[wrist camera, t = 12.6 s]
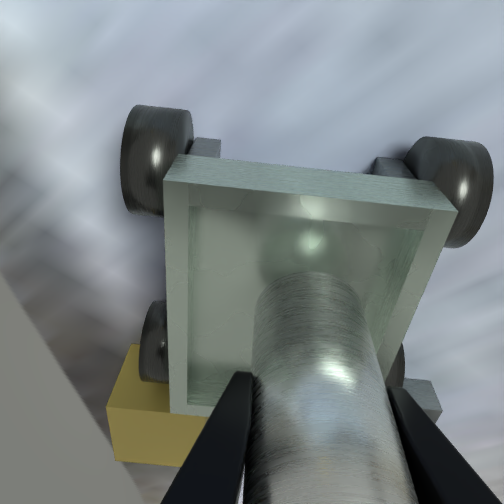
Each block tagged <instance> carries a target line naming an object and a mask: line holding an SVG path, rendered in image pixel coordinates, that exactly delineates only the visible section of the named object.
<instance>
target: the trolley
mask: <svg viewBox="0 0 504 504" xmlns="http://www.w3.org/2000/svg"><path fill="white" fill-rule="evenodd" d="M220 150H221V140H217V139H207V138H198V137H197V138H196V140H195V142H194V136H193V124H192V118H191V114H190V112H189V111H188V110H182V109H173V108H164V107H155V106H146V105H136V106H134V107H133V108H132V110H131V111H130V113H129V115H128V118H127V121H126V124H125V128H124V133H123V138H122V145H121V157H120V176H121V187H122V193H123V198H124V202H125V205H126V207H127V209H128V211H129V212H130V213H131V214H134V215H144V216H153V217H163V218H164V231H165V263H166V295H167V302H162V301H154V302H153V303H152V304H151V306H150V308H149V310H148V312H147V315H146V318H145V322H144V326H143V330H142V335H141V341H140V349H139V376H140V379H141V381H143V382H153V383H163V384H169V391H170V413H174V414H184V415H194V416H204V417H209V416H210V415H211V413H212V411H213V409H214V408H215V406H216V404H217V402H218V400H219V399H220V397H221V395H222V393H223V392H224V390H225V388H226V386H227V384H228V383H229V381H230V379H231V377H232V376H233V374H234V372H236V371H247V372H251V358H252V342H253V325H254V309H255V305H256V302H257V299H258V297H259V296H260V294H261V293H262V292H263V290H264V289H265V288H266V287H267V286H269V285H270V284H271V283H273V282H274V281H276V280H277V279H279V278H281V277H284V276H286V275H289V274H293V273H298V272H306V271H314V272H323V273H327V274H331V275H334V276H336V277H339V278H340V279H342V280H344V281H346V282H347V283H348V284H350V285H351V286H352V287H353V288H354V290H355V291H356V292H357V294H358V296H359V298H360V300H361V303H362V307H363V310H364V314H365V317H366V321H367V324H368V328H369V331H370V335H371V338H372V342H373V345H374V349H375V352H376V356H377V359H378V363H379V366H380V370H381V373H382V377H383V380H384V384H385V387H386V386H394V387H403V382H404V374H405V357H404V349H403V344H402V341H403V339H404V336H405V334H406V332H407V329H408V327H409V325H410V322H411V320H412V318H413V316H414V313H415V311H416V309H417V306H418V304H419V302H420V299H421V297H422V295H423V292H424V290H425V288H426V285H427V283H428V281H429V278H430V276H431V274H432V272H433V269H434V267H435V265H436V262H437V260H438V258H439V255H440V253H441V251H442V248H443V247H446V248H459V247H462V246H464V245H465V244H467V243H468V242H469V241H470V240H471V239H472V238H473V237H474V236H475V235H476V233H477V232H478V230H479V229H480V227H481V225H482V223H483V221H484V219H485V217H486V215H487V212H488V209H489V206H490V202H491V197H492V192H493V179H494V175H493V165H492V161H491V157H490V155H489V153H488V151H487V149H486V148H485V147H484V146H483V145H482V144H480V143H478V142H473V141H464V140H455V139H446V138H437V137H428V136H427V137H422V138H420V139H419V140H418V141H417V142H416V143H415V144H414V145H413V146H412V148H411V149H410V151H409V152H408V154H407V156H406V158H405V160H404V163H403V162H402V160H400V159H391V158H382V157H377V159H376V163H375V166H374V170H373V173H372V175H369V174H360V173H350V172H341V171H332V170H323V169H313V168H304V167H295V166H286V165H276V164H267V163H258V162H249V161H240V160H230V159H221V158H220Z"/></svg>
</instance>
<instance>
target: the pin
mask: <svg viewBox="0 0 504 504" xmlns="http://www.w3.org/2000/svg"><path fill="white" fill-rule="evenodd" d="M251 373H253V398H252V420H251V429H250V435H249V441H248V447H247V453H246V459H245V473H244V489H243V504H419V503H418V499H417V496H416V492H415V489H414V485H413V482H412V478H411V475H410V471H409V468H408V464H407V461H406V457H405V454H404V450H403V447H402V443H401V440H400V436H399V433H398V429H397V426H396V422H395V419H394V415H393V412H392V408H391V405H390V401H389V398H388V394H387V391H386V387H385V384H384V380H383V377H382V373H381V370H380V366H379V363H378V359H377V356H376V352H375V349H374V345H373V342H372V338H371V335H370V331H369V328H368V324H367V321H366V317H365V314H364V310H363V307H362V303H361V300H360V298H359V296H358V294H357V292H356V291H355V290H354V288H353V287H352V286H351V285H350V284H348V283H347V282H346V281H344V280H342V279H340V278H339V277H336V276H334V275H331V274H327V273H323V272H314V271H306V272H298V273H293V274H289V275H286V276H284V277H281V278H279V279H277V280H276V281H274V282H273V283H271V284H270V285H269V286H267V287H266V288H265V289H264V290H263V292H262V293H261V294H260V296H259V297H258V299H257V302H256V305H255V309H254V325H253V342H252V358H251Z"/></svg>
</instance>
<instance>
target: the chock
mask: <svg viewBox="0 0 504 504" xmlns="http://www.w3.org/2000/svg"><path fill="white" fill-rule="evenodd" d="M139 349H140V344H131V346H130V348H129V351H128V353H127V356H126V358H125V361H124V363H123V366H122V368H121V371H120V373H119V375H118V378H117V380H116V383H115V385H114V388H113V390H112V393H111V395H110V398H109V400H108V403H107V405H106V411H107V416H108V422H109V428H110V433H111V439H112V445H113V451H114V456H115V461H123V462H133V463H143V464H154V465H164V466H174V467H181V466H182V464H183V463H184V461H185V459H186V457H187V455H188V454H189V452H190V450H191V448H192V447H193V445H194V443H195V441H196V439H197V438H198V436H199V434H200V432H201V431H202V429H203V427H204V425H205V423H206V422H207V420H208V418H209V417H204V416H194V415H184V414H174V413H170V391H169V384H163V383H153V382H143V381H141V379H140V376H139Z"/></svg>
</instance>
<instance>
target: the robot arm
mask: <svg viewBox="0 0 504 504" xmlns="http://www.w3.org/2000/svg"><path fill="white" fill-rule="evenodd" d="M386 391H387V394H388V398H389V401H390V405H391V408H392V412H393V415H394V419H395V422H396V426H397V429H398V433H399V436H400V440H401V443H402V447H403V450H404V454H405V457H406V461H407V464H408V468H409V471H410V475H411V478H412V482H413V485H414V489H415V492H416V496H417V499H418V503H419V504H502V503H501V502H500V500H499V499H498V498H497V497H496V496H495V494H494V493H493V492H492V491H491V490H490V488H489V487H488V486H487V485H486V484H485V483H484V481H483V480H482V479H481V478H480V477H479V475H478V474H477V473H476V472H475V471H474V470H473V468H472V467H471V466H470V465H469V464H468V462H467V461H466V460H465V459H464V458H463V456H462V455H461V454H460V453H459V452H458V451H457V449H456V448H455V447H454V446H453V445H452V443H451V442H450V441H449V440H448V439H447V438H446V436H445V435H444V434H443V433H442V432H441V430H440V429H439V428H438V427H437V426H436V424H435V423H434V422H433V421H432V420H431V419H430V417H429V416H428V415H427V414H426V413H425V411H424V410H423V409H422V408H421V407H420V406H419V404H418V403H417V402H416V401H415V400H414V398H413V397H412V396H411V395H410V394H409V393H408V391H407V390H406V389H404V388H402V387H394V386H386ZM252 398H253V373H251V372H247V371H236V372H234V374H233V376H232V377H231V379H230V381H229V383H228V384H227V386H226V388H225V390H224V392H223V393H222V395H221V397H220V399H219V400H218V402H217V404H216V406H215V408H214V409H213V411H212V413H211V415H210V416H209V418H208V420H207V422H206V423H205V425H204V427H203V429H202V431H201V432H200V434H199V436H198V438H197V439H196V441H195V443H194V445H193V447H192V448H191V450H190V452H189V454H188V455H187V457H186V459H185V461H184V463H183V464H182V466H181V468H180V470H179V471H178V473H177V475H176V477H175V479H174V480H173V482H172V484H171V486H170V487H169V489H168V491H167V493H166V495H165V496H164V498H163V500H162V502H161V503H160V504H238V500H239V495H240V490H241V485H242V479H243V472H244V466H245V459H246V453H247V447H248V441H249V435H250V429H251V420H252Z"/></svg>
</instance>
